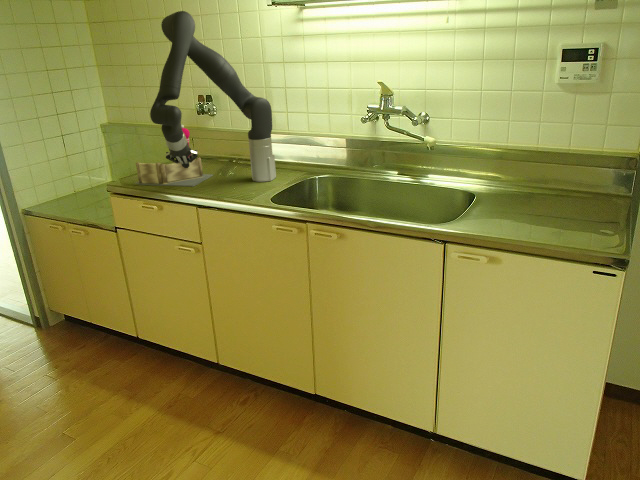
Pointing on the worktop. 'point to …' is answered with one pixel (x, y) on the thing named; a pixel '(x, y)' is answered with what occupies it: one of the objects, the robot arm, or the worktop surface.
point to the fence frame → (149, 173)
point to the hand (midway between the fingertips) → (186, 166)
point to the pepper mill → (186, 133)
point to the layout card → (182, 181)
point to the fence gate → (181, 171)
